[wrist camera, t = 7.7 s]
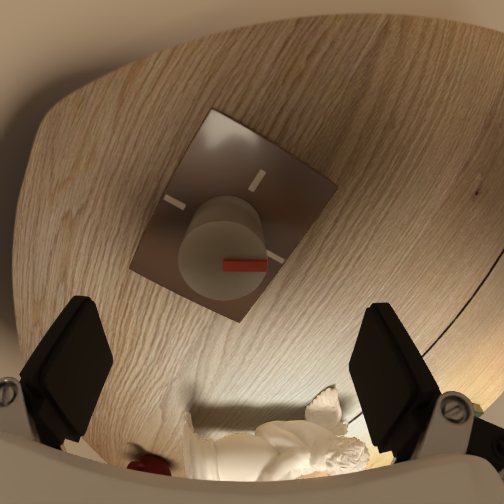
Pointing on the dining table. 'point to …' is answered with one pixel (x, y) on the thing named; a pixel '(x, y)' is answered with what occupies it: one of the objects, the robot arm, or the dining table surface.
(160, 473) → the mug
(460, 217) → the dining table surface
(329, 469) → the angel figurine
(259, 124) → the dining table surface
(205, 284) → the dial
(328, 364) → the dining table surface
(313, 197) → the dial panel
